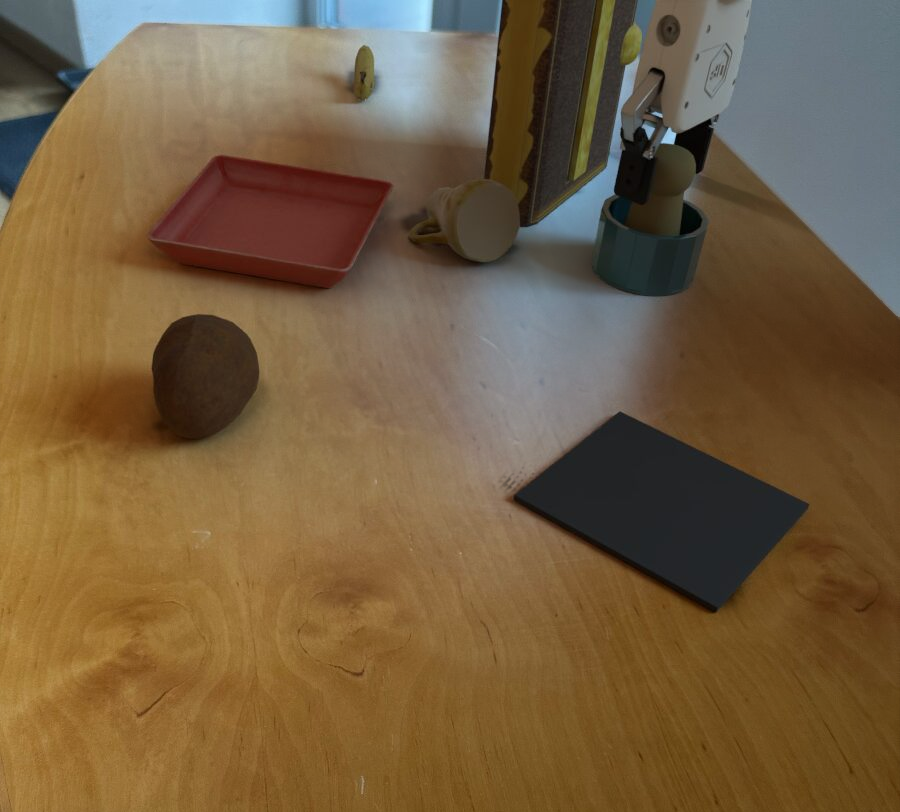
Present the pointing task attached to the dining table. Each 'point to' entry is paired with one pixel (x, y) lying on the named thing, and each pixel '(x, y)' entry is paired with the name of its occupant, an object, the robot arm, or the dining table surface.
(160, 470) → the dining table surface
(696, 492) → the mat
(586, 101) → the book
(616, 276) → the crock
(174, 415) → the potato
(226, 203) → the plant saucer
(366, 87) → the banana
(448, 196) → the mug
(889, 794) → the dining table surface
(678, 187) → the olive pawn piece
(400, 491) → the dining table surface
